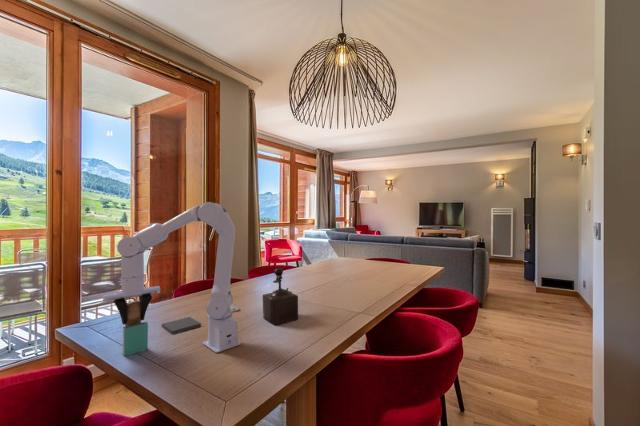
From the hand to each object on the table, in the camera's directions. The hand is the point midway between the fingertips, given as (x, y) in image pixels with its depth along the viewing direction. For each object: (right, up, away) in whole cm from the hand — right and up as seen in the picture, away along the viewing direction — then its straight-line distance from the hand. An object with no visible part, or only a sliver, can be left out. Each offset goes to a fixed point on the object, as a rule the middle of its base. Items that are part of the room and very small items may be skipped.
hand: (133, 321), depth 89 cm
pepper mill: (+40, -8, +27) cm, 49 cm away
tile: (+2, -8, -2) cm, 9 cm away
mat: (+6, -8, +18) cm, 21 cm away
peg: (0, -2, 0) cm, 2 cm away
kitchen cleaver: (+14, -9, +43) cm, 46 cm away
